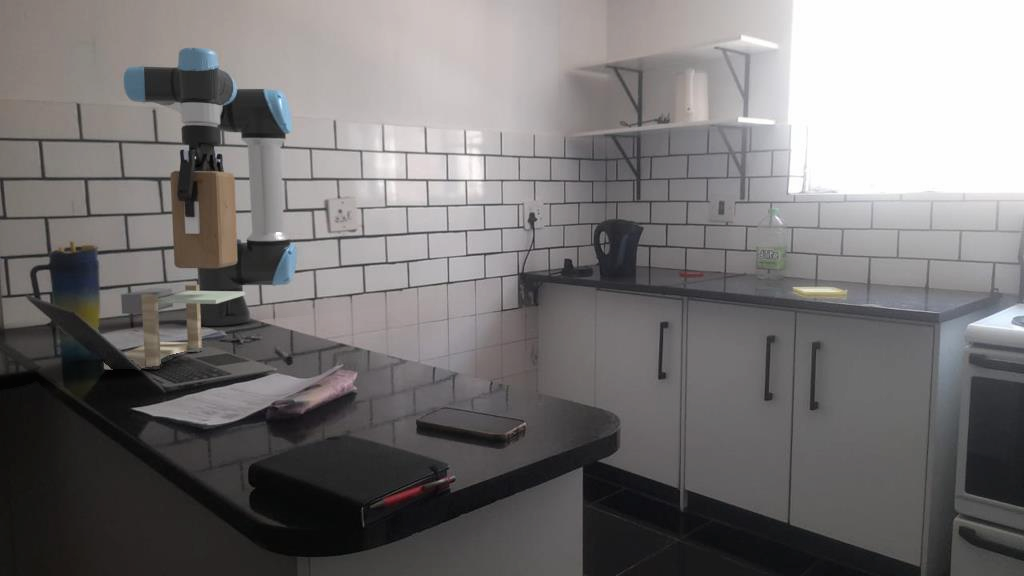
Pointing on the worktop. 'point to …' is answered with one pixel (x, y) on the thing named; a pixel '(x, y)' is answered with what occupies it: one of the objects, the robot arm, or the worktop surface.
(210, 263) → the wooden block
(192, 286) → the trapdoor frame
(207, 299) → the trapdoor
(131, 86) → the robot arm
